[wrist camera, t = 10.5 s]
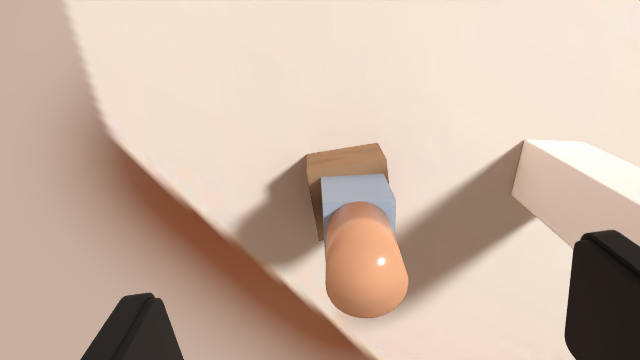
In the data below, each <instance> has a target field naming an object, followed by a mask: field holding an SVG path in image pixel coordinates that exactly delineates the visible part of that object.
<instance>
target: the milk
mask: <svg viewBox="0 0 640 360" xmlns="http://www.w3.org/2000/svg"><path fill="white" fill-rule="evenodd" d="M511 195H512V196H513V197H515V198H516V199H517V200H518V201H519V202H520V203H521V204H522V205H524V206H525V207H526V208H527V209H528V210H529V211H530V212H532V213H533V214H534V215H535V216H536V217H537V218H538V219H540V220H541V221H542V222H543V223H544V224H545V225H546V226H547V227H549V228H550V229H551V230H552V231H553V232H554V233H555V234H557V235H558V236H559V237H560V238H561V239H562V240H563V241H565V242H566V243H567V244H568V245H569V246H570V247H571V248H572V249H574V244H575V243H576V242H577V241H580V239H581V237H582V235H583V234H585V233H590V232H597V231H605V230H616V231H618V232H620V233H621V234H623V235H624V236H625V237H627V238H628V239H630V240H631V241H633V242H634V243H635V244H637V245H638V246H640V168H639V167H637V166H635V165H632V164H630V163H628V162H626V161H624V160H622V159H619V158H617V157H615V156H613V155H611V154H608V153H606V152H604V151H602V150H600V149H597V148H595V147H593V146H591V145H589V144H586V143H584V142H572V141H547V140H524V144H523V148H522V152H521V156H520V161H519V165H518V169H517V173H516V177H515V181H514V185H513V189H512V193H511Z"/></svg>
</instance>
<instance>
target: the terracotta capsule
mask: <svg viewBox="0 0 640 360" xmlns="http://www.w3.org/2000/svg"><path fill="white" fill-rule="evenodd" d="M407 289H408V275H407V271H406V268H405V265H404V262H403V259H402V256H401V253H400V250H399V247H398V244H397V241H396V238H395V235H394V232H393V229H392V226H391V223H390V220H389V218H388V216H387V215H386V213H385V212H384V211H383V210H382V209H381V208H380V207H378V206H376V205H374V204H372V203H369V202H363V201H357V202H351V203H347V204H345V205H343V206H341V207H340V208H338V209H337V210H336V211H335V212H334V213H333V214H332V215H331V217H330V219H329V221H328V224H327V229H326V291H327V294H328V296H329V298H330V300H331V302H332V303H333V304H334V305H335V306H336V307H337V308H338V309H339V310H341V311H342V312H344V313H346V314H348V315H350V316H354V317H358V318H374V317H378V316H382V315H384V314H387V313H389V312H390V311H392V310H393V309H395V308H396V307H397V306H398V305H399V304H400V303H401V302H402V300H403V299H404V297H405V295H406V293H407Z"/></svg>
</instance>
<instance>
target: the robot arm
mask: <svg viewBox="0 0 640 360" xmlns="http://www.w3.org/2000/svg"><path fill="white" fill-rule="evenodd" d="M565 342H566V345H567V347H568V349H569V351H570V352H571V354H572V355H573V356H574V358H575V359H576V360H640V246H638V245H637V244H635V243H634V242H633V241H631V240H630V239H628V238H627V237H625V236H624V235H623V234H621V233H620V232H618V231H616V230H605V231H597V232H590V233H585V234H583V235H582V237H581V239H580V241H577V242H576V243H575V244H574V249H573V259H572V268H571V278H570V287H569V297H568V306H567V316H566V325H565ZM81 360H184V359H183V356H182V354H181V351H180V348H179V346H178V343H177V340H176V337H175V335H174V332H173V328H172V326H171V323H170V320H169V317H168V315H167V313H166V309H165V306H164V304H163V301H162V300H161V299H160V298H155V297H154V295H153V294H152V293H143V294H135V295H128V296H124V297H123V298H122V299H121V300H120V301H119V303H118V304H117V306H116V307H115V309H114V310H113V312H112V313H111V315H110V316H109V318H108V319H107V321H106V322H105V324H104V325H103V327H102V328H101V330H100V331H99V333H98V334H97V336H96V337H95V339H94V340H93V342H92V343H91V345H90V346H89V348H88V349H87V351H86V352H85V354H84V355H83V357H82V358H81Z"/></svg>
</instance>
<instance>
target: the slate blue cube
mask: <svg viewBox="0 0 640 360" xmlns="http://www.w3.org/2000/svg"><path fill="white" fill-rule="evenodd" d="M321 188H322V207H323V225H324V242H325V258H326V229H327V224H328V221H329V219H330V217H331V215H332V214H333V213H334V212H335V211H336V210H337V209H338V208H340V207H341V206H343V205H345V204H347V203H351V202H357V201H363V202H369V203H372V204H374V205H376V206H378V207H380V208H381V209H382V210H383V211H384V212H385V213H386V215H387V216H388V218H389V220H390V223H391V226H392V229H393V232H394V235H395V217H396V199H395V197H394V195H393V193H392V190H391V188H390V186H389V184H388V182H387V180H386V178H385V176H384V174H367V175H349V176H332V177H321Z"/></svg>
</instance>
